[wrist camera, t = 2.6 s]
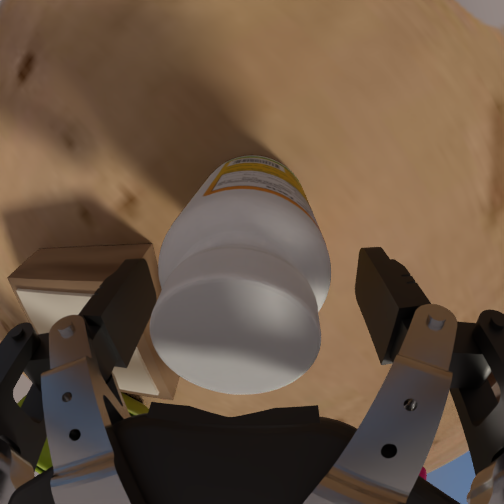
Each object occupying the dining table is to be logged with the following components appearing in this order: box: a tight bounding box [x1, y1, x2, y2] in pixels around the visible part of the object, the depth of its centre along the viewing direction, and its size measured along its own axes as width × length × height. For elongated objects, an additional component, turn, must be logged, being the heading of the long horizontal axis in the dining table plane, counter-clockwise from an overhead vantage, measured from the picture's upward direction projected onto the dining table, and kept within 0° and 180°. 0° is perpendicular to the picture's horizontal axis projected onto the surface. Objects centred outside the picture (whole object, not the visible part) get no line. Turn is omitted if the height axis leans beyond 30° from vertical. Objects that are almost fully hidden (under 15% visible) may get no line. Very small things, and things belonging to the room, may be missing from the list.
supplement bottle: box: [150, 155, 331, 394], centre depth 10 cm, size 5×5×10 cm
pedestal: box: [7, 244, 180, 400], centre depth 17 cm, size 10×10×4 cm
